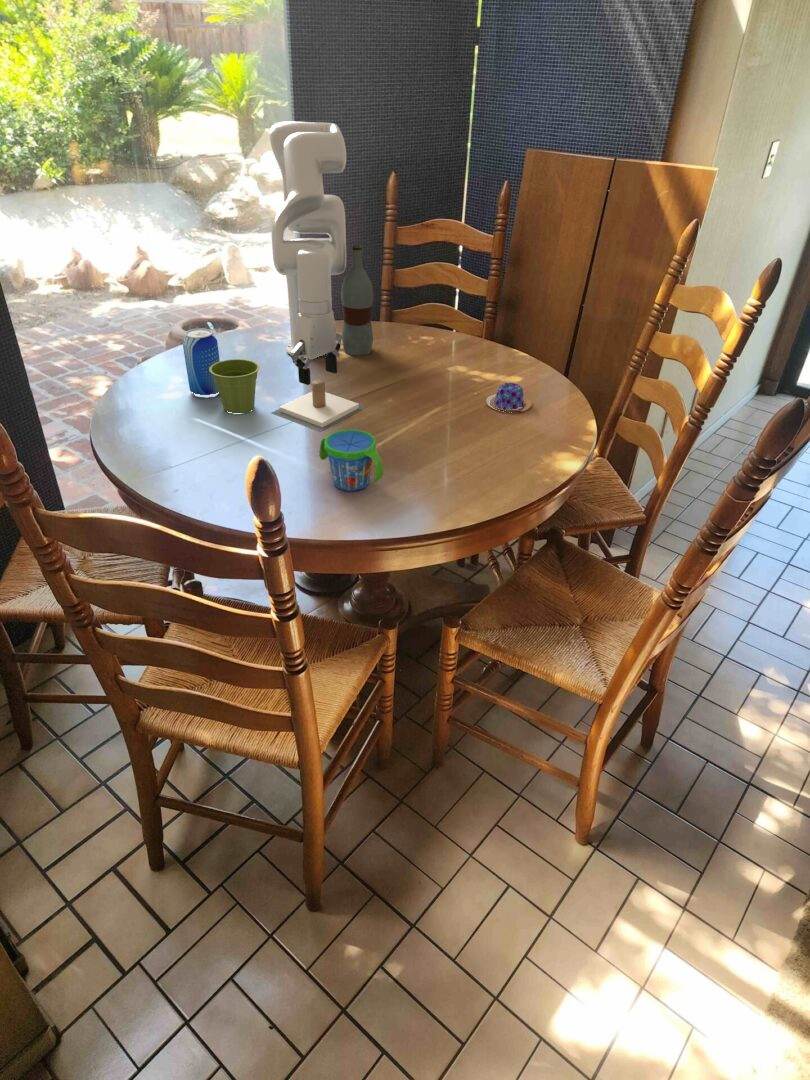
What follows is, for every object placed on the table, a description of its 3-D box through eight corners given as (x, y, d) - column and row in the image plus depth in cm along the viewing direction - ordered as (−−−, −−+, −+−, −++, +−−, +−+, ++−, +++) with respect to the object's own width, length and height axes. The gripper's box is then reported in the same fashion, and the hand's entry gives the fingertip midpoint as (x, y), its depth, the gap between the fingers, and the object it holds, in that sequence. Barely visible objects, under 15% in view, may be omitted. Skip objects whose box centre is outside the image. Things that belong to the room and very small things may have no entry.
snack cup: (307, 478, 150) (305, 435, 144) (344, 461, 156) (343, 420, 150) (358, 507, 141) (358, 463, 135) (394, 488, 148) (395, 445, 142)
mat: (319, 392, 186) (319, 390, 186) (366, 408, 179) (366, 406, 178) (271, 415, 174) (270, 412, 173) (320, 433, 167) (319, 431, 166)
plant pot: (271, 404, 179) (267, 361, 172) (250, 424, 170) (245, 379, 163) (228, 397, 181) (223, 355, 175) (206, 416, 172) (199, 373, 165)
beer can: (205, 402, 178) (196, 341, 169) (183, 393, 182) (174, 333, 173) (230, 392, 184) (223, 332, 175) (209, 383, 188) (201, 324, 179)
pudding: (479, 409, 181) (481, 390, 178) (494, 392, 190) (496, 374, 187) (524, 419, 178) (526, 399, 175) (537, 401, 187) (540, 382, 183)
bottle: (378, 349, 212) (380, 245, 195) (361, 359, 206) (361, 251, 189) (353, 343, 216) (352, 240, 199) (335, 351, 210) (333, 246, 192)
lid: (316, 393, 184) (315, 367, 180) (358, 408, 177) (358, 381, 173) (279, 411, 174) (277, 384, 170) (322, 427, 168) (321, 399, 164)
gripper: (327, 295, 168) (329, 364, 178) (276, 311, 157) (282, 384, 166) (351, 301, 165) (352, 371, 174) (301, 318, 153) (305, 392, 163)
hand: (318, 377), depth 170 cm, fingers open, 9 cm apart
